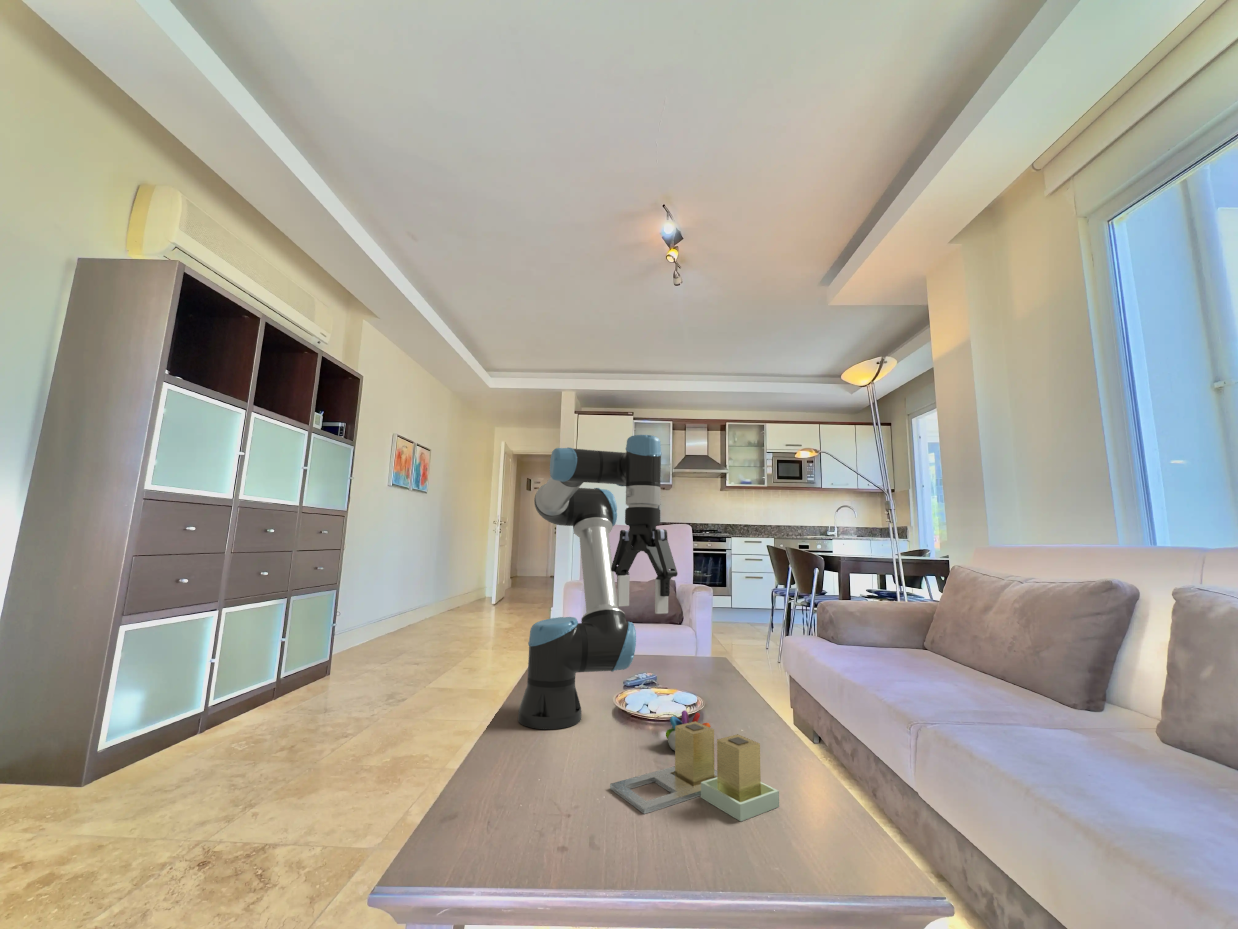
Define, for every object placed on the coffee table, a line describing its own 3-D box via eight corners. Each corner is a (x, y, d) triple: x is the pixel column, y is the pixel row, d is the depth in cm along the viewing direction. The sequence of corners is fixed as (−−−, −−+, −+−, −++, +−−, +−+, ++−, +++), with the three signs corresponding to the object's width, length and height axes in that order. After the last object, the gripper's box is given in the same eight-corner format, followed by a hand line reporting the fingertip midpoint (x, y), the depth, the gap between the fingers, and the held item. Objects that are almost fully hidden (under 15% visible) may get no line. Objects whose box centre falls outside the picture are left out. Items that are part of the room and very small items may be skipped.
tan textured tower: (675, 778, 94) (675, 725, 96) (695, 772, 97) (695, 720, 98) (693, 789, 90) (693, 733, 92) (714, 782, 93) (714, 728, 94)
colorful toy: (710, 758, 104) (710, 719, 105) (662, 752, 106) (663, 715, 107) (712, 743, 112) (712, 707, 113) (668, 738, 114) (668, 703, 116)
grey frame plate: (610, 788, 90) (610, 783, 90) (696, 764, 100) (696, 760, 101) (644, 814, 81) (644, 808, 81) (734, 784, 92) (734, 779, 92)
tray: (700, 797, 87) (700, 782, 87) (738, 785, 92) (738, 770, 92) (740, 821, 80) (740, 804, 80) (779, 806, 85) (779, 790, 85)
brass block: (717, 797, 87) (717, 738, 88) (738, 789, 89) (737, 733, 91) (739, 809, 82) (738, 748, 84) (761, 802, 85) (759, 742, 87)
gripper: (597, 509, 119) (595, 604, 115) (665, 502, 98) (664, 618, 95) (624, 510, 123) (622, 602, 119) (695, 505, 102) (695, 615, 99)
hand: (641, 609), depth 107 cm, fingers open, 13 cm apart
